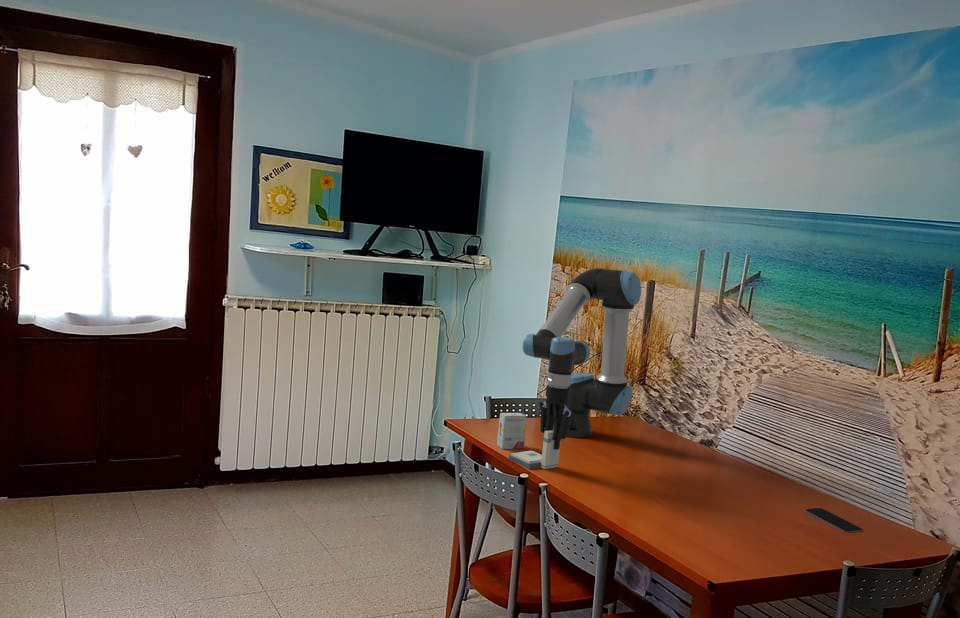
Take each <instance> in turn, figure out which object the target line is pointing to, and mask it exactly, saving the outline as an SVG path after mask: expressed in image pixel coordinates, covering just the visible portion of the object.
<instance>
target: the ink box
mask: <svg viewBox="0 0 960 618" xmlns="http://www.w3.org/2000/svg"><path fill="white" fill-rule="evenodd" d="M526 427H527V415H526V414H523V413H522V412H499V421H498V428H497V429H498V430H497V439H496V440H497V441H496V445H497V447H499V448H500V449H502V450H515V449H516V450H517V449H524V448H525V440H526V439H525V438H526V429H527V428H526Z"/></svg>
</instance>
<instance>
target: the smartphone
mask: <svg viewBox="0 0 960 618" xmlns="http://www.w3.org/2000/svg"><path fill="white" fill-rule="evenodd" d="M804 513H805V514H807V515H808V516H811V517H812V518H815V519H816V520H818V521H821V522H823V523H825V524H827V525H828V526H831V527H833V528H835V529H838V530H839V531H841V532H844V533H850V534H851V533H857V532H863V531H864V530H863V528H861V527H859V526H858V525H856V524H855V523H851V522H850V521H848V520H846V519H845V518H842V517H841V516H839V515H836V514H834V513H832V512H830V511H828V510H827V509H824V508H821V507H815V508H814V507H813V508H806V509H804Z"/></svg>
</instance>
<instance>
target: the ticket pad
mask: <svg viewBox="0 0 960 618" xmlns="http://www.w3.org/2000/svg"><path fill="white" fill-rule="evenodd" d="M541 459H542V453H541V454H540V453H539V452H537V451H533V450H527V451H520V452H519V451H518V452H512V453H511V454H509V455H508V461H510V462H512V463H515V464H516V465H519V466H521V467H523V468H525V469H527V470H533V469H539V468H538V467H540V468H541Z"/></svg>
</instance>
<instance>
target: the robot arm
mask: <svg viewBox="0 0 960 618" xmlns="http://www.w3.org/2000/svg"><path fill="white" fill-rule="evenodd" d="M640 280H641V279H640V278H639V276H638V274H636V273H635V272H632V271H627V270H622V269H621V270H620V269H609V268H603V267H596V268H591V269H588V270H585V271H583V272H582V273H580V274H579V275H576V277H574V278H573V280H571V282H570V283H569V284H568V285H567V287H566V289H565V294H564V295H563V297H562V298H561V299H560V301H559V303H558V304H557V305H556V307H555V308H554V309H553V310H552V312H551V313H550V315H549V316H548V318H546V320H545V322H544V323H543V325H542V326H541V327H540V329H539V330H538V331H537V332H536V334H534V333H532V334H529V333H528V334H526V336H524V339H523V341H522V350H523V351H522V352H523V353H524V355H525V356H528V357H532V358H537V359H542V360H547V361H548V362H549V363H548V370H547V379H546V380H547V381H546V383H547V385H546V386H545V387H546V388H545V397H546V398H545V401H540V402H539V407H540V433H541V434H544V432H545V431H549V430H554V438H552V439H551V448H550V457H549V459H557V454H558V449H559V447H560V448H561V443H560V440H561V441H562V440H565V439H567V437H571V438H588V437H591V436H592V435H593V426H592V425H591V424H592V423H591V418H590V417H591V416H590V415H591V413H590V411H591V410H592V411H596V412H600V413H603V414H607V415H608V414H609V415H610V416H613V415H614V416H622V415H624V414H625V413H626V412H627V410H628V408H629V406H630V404H631V401H632V396H633V388H632V386H630V385H628V381H629V380H628V378H627V377H626V376H625V366H626V357H627V355H626V352H627V341H628V330H629V322H630V321H629V319H630V313H631V311H633V310H634V309H635V305H638V304H639V303H640V300H641V297H642V296H641V295H642V285H641V281H640ZM591 300H598V301H601V307H602V308H603V310H605V314H604V324H603V325H604V327H603V340H602V350H601V352H602V353H601V364H600V366H601V367H600V373H599V374H598V375H597V376H596V377H595V376H594V374H592V373H587V372H574V373H573V366H578V365H579V366H580V365H581V364H584V363H586V362H587V361H588V360H589V359H590V357H591V350H590V347H589V346H588V344H587V343H585V342H584V341H579V340H575V339H573V338H571V337H566V336H565V337H562V336H563V335H564V333H565V332H566V330H568V328H569V326H570V325H571V323H572V322H573V320H574V319H575V317H576V316H577V314H578V313H579V312H580V310H581V308H583V306H584V305H587V304H589V302H590V301H591Z"/></svg>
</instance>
